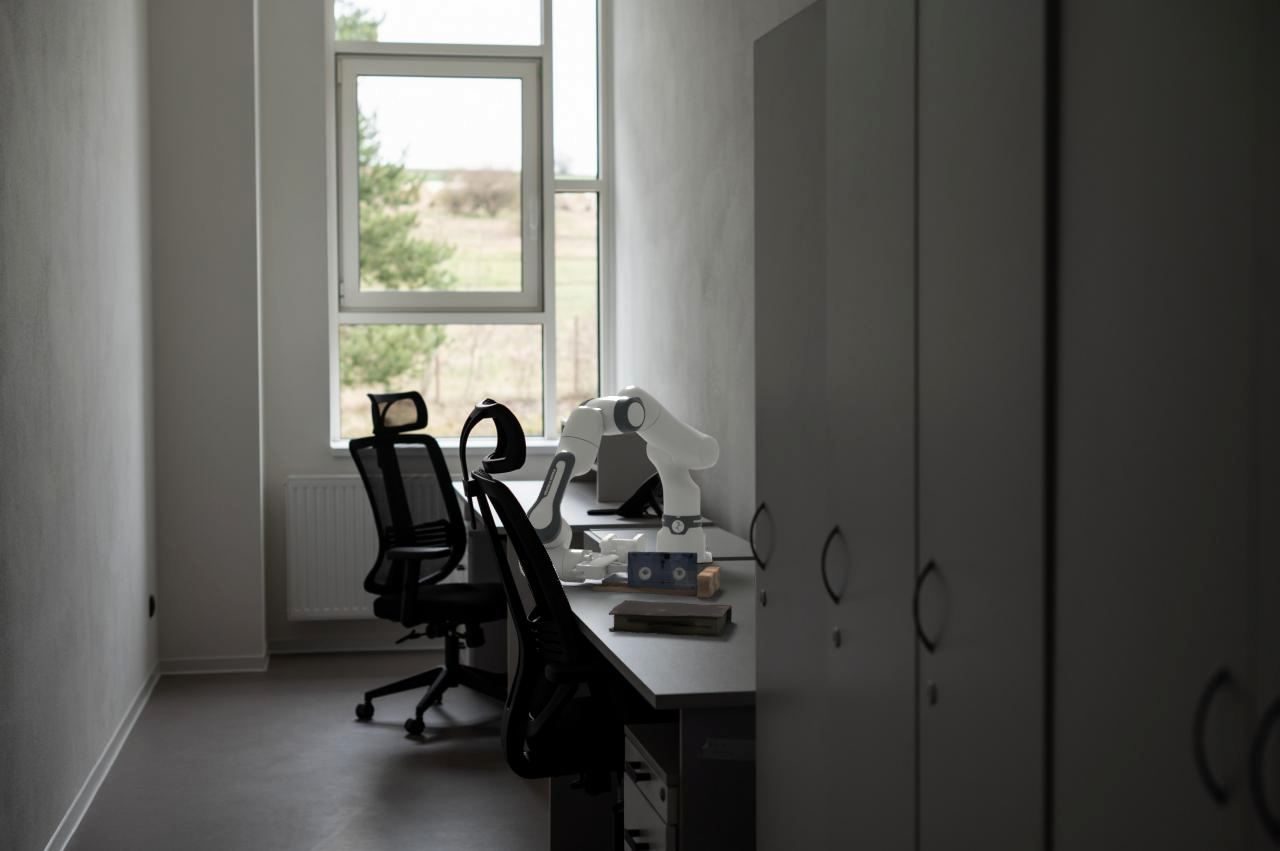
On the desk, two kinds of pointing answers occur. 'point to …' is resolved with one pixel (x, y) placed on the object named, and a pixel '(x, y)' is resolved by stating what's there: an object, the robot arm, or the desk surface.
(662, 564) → the vhs cassette tape
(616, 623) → the diary
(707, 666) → the desk surface
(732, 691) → the desk surface
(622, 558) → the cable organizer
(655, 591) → the guide track
